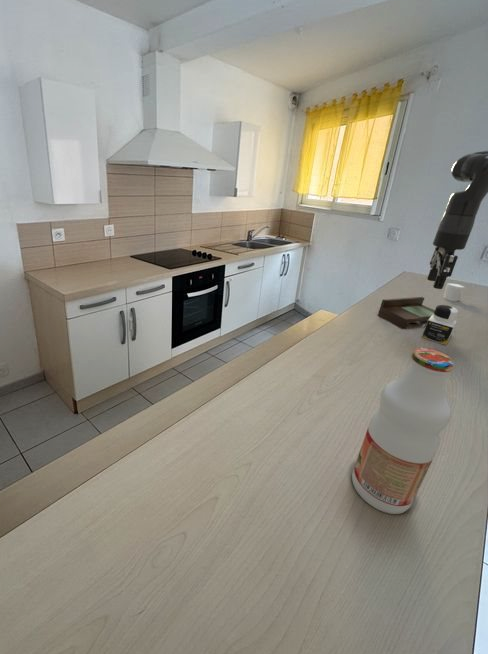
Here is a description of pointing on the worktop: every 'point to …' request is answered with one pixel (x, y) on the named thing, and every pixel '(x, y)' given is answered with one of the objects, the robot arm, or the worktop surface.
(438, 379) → the fruit juice
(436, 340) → the medicine bottle
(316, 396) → the worktop surface
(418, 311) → the dark wooden tray
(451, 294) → the white cylinder
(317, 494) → the worktop surface
